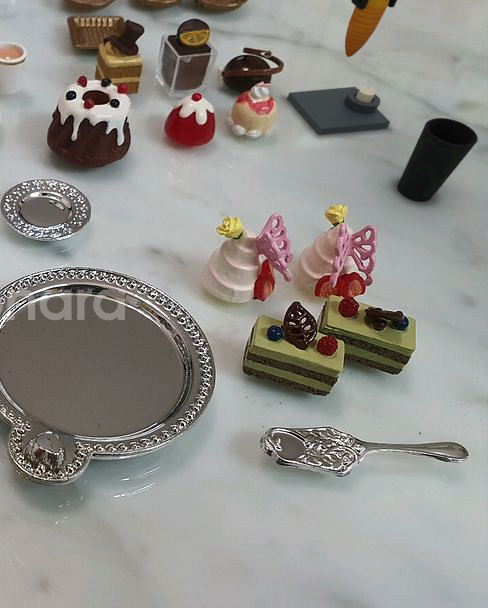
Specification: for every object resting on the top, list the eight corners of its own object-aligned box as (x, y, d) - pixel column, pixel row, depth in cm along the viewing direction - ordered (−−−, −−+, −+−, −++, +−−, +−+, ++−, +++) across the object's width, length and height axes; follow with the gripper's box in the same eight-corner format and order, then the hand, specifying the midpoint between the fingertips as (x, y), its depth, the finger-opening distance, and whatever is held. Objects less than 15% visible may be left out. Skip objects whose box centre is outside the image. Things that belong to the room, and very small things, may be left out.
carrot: (368, 59, 133) (409, -26, 122) (351, 67, 131) (391, -19, 120) (344, 46, 135) (382, -37, 124) (327, 54, 133) (364, -30, 122)
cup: (429, 212, 124) (469, 152, 115) (383, 191, 127) (418, 131, 118) (445, 190, 127) (484, 131, 119) (400, 171, 131) (435, 111, 122)
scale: (353, 92, 147) (360, 79, 145) (388, 128, 140) (396, 114, 137) (286, 98, 145) (292, 85, 143) (318, 135, 138) (324, 121, 135)
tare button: (366, 94, 142) (370, 86, 141) (374, 102, 140) (378, 94, 139) (352, 95, 142) (356, 87, 141) (360, 103, 140) (364, 95, 139)
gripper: (389, -101, 109) (337, 19, 122) (492, -106, 111) (430, 12, 125) (361, -120, 114) (314, -3, 127) (460, -125, 116) (404, -9, 130)
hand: (372, 3), depth 126 cm, fingers closed on carrot, 4 cm apart
